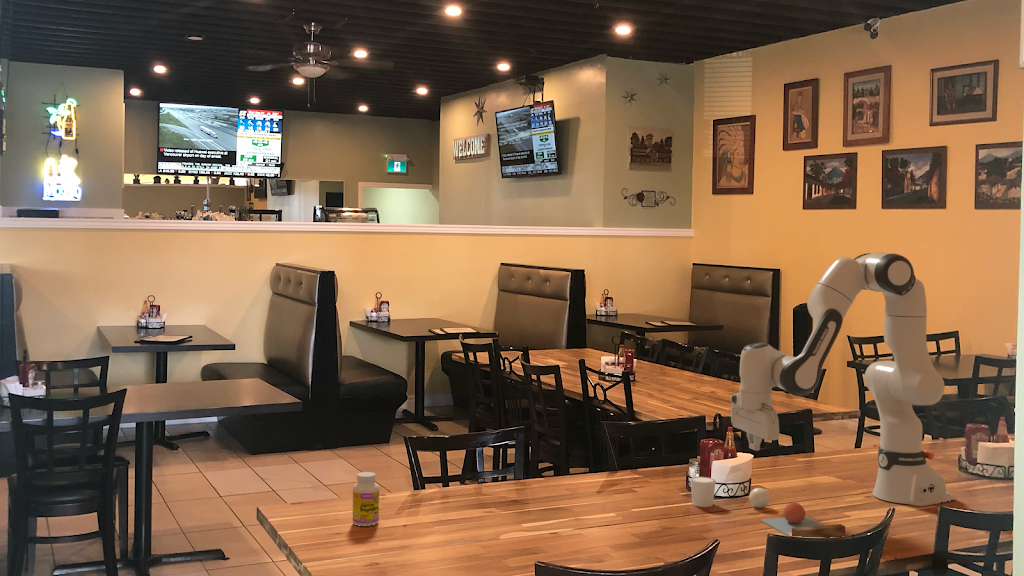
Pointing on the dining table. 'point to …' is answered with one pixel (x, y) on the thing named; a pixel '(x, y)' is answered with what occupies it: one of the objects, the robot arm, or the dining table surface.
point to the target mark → (790, 524)
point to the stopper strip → (820, 531)
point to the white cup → (702, 491)
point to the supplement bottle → (366, 500)
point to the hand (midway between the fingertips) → (754, 449)
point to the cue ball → (759, 497)
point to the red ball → (794, 513)
